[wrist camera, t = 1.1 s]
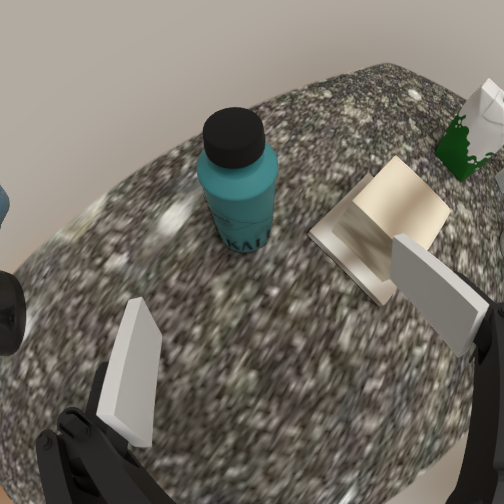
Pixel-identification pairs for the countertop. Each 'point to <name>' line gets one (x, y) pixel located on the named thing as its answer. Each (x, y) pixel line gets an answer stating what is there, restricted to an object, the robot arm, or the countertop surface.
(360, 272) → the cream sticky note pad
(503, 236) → the cup
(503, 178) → the skincare box
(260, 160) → the beverage bottle
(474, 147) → the milk carton
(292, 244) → the countertop surface
